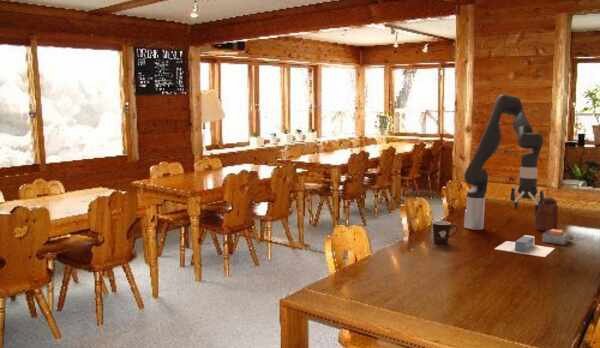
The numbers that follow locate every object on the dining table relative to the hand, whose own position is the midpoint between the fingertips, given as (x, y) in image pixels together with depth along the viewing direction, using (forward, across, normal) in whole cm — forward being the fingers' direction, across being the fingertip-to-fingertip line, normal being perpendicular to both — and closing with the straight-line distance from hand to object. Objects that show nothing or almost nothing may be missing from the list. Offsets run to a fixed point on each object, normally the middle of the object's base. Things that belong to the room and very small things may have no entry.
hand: (526, 211), depth 252 cm
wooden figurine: (+18, +2, -46) cm, 49 cm away
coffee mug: (+18, +34, +13) cm, 41 cm away
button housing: (+18, -8, -24) cm, 31 cm away
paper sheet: (+18, 0, 0) cm, 18 cm away
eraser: (+17, 0, 0) cm, 17 cm away
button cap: (+15, -8, -24) cm, 30 cm away
